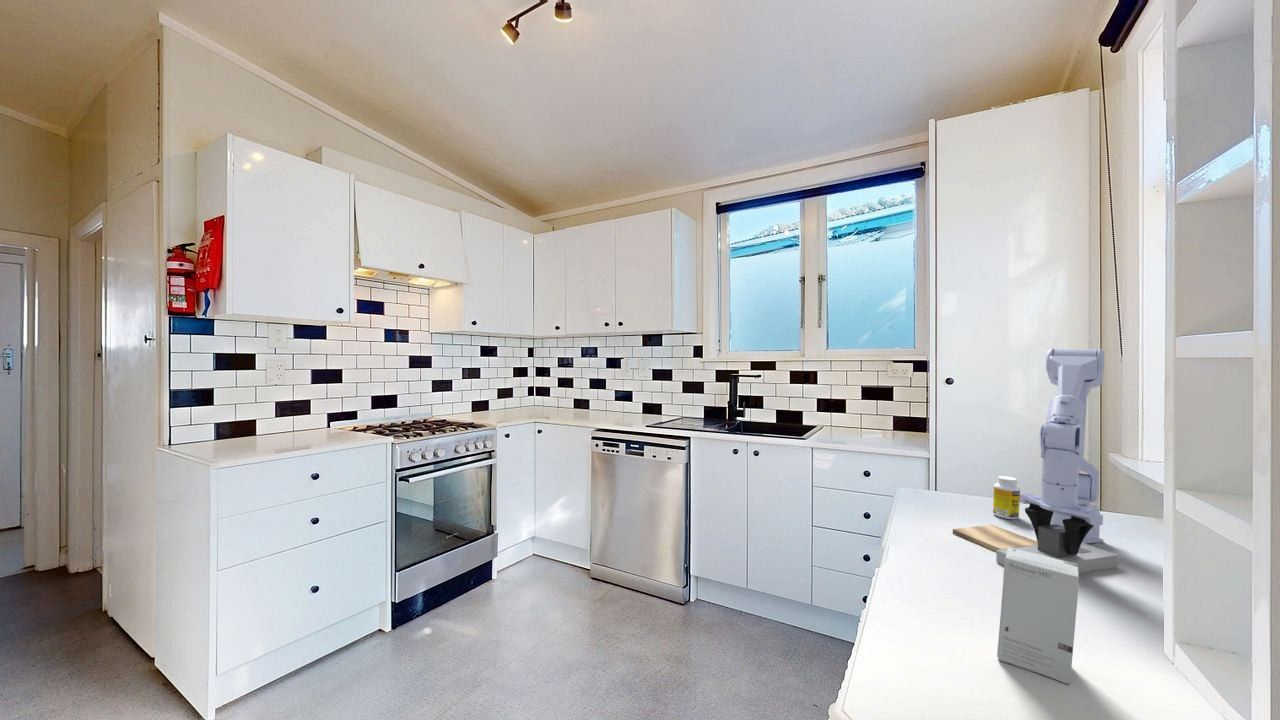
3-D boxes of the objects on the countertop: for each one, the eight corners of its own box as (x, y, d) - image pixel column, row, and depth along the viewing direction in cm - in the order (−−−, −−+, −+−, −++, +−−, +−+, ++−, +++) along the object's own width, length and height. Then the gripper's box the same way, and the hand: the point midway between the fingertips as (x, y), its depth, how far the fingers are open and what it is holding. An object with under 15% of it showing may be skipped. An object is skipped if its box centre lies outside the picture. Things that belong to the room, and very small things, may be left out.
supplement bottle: (1013, 521, 128) (1015, 481, 128) (989, 515, 133) (990, 476, 132) (1022, 517, 131) (1024, 478, 131) (998, 511, 136) (999, 474, 135)
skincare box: (996, 660, 71) (1000, 557, 71) (1001, 641, 76) (1004, 544, 76) (1075, 687, 66) (1079, 575, 65) (1074, 665, 71) (1078, 560, 70)
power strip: (1074, 551, 110) (1074, 537, 110) (1117, 567, 102) (1118, 552, 102) (996, 562, 104) (996, 547, 104) (1036, 579, 96) (1036, 563, 96)
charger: (1055, 558, 106) (1056, 523, 105) (1076, 567, 102) (1077, 530, 102) (1037, 561, 104) (1038, 525, 104) (1057, 569, 100) (1059, 532, 100)
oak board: (991, 528, 123) (991, 524, 123) (1042, 548, 111) (1042, 543, 111) (952, 533, 120) (952, 529, 120) (1000, 553, 108) (1001, 549, 108)
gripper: (1009, 474, 108) (1007, 536, 109) (1085, 494, 94) (1082, 565, 95) (1034, 472, 110) (1032, 533, 111) (1112, 491, 96) (1109, 561, 97)
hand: (1057, 548), depth 103 cm, fingers open, 5 cm apart
